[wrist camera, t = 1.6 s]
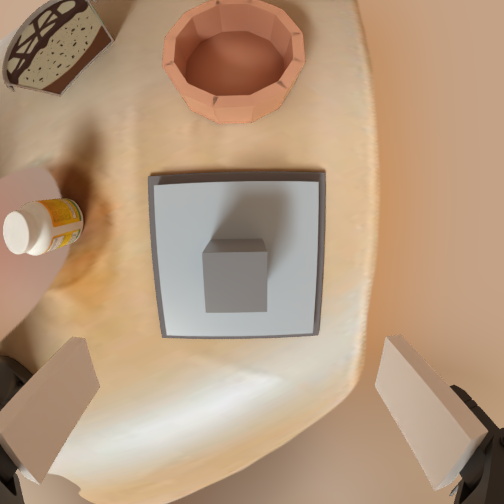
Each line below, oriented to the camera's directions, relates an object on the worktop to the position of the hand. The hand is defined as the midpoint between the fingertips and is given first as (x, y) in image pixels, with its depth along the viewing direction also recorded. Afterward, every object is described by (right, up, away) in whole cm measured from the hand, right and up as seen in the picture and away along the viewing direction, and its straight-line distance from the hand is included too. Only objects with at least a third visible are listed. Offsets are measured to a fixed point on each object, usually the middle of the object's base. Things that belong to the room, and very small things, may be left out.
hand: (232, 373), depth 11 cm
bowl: (-1, +24, +15) cm, 28 cm away
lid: (-1, +4, +19) cm, 19 cm away
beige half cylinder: (-21, +29, +13) cm, 38 cm away
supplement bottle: (-21, +9, +18) cm, 29 cm away
